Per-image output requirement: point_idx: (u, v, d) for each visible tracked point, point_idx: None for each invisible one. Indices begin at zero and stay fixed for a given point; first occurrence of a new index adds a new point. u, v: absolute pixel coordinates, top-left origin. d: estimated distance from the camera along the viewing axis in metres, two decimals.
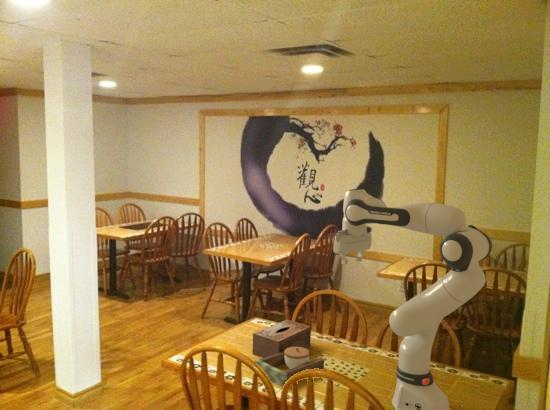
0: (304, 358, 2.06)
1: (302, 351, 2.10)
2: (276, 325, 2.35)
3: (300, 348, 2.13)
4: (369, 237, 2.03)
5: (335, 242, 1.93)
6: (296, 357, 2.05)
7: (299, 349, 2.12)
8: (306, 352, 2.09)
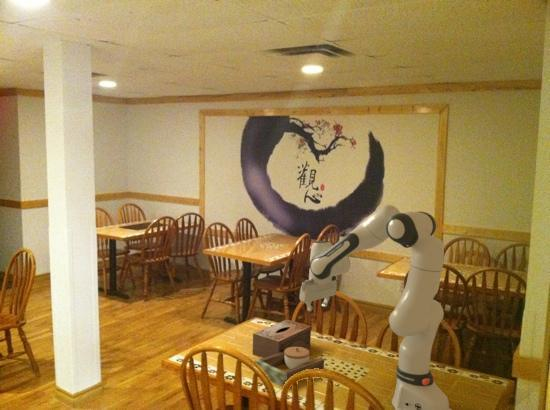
0: (304, 358, 2.06)
1: (302, 351, 2.10)
2: (276, 325, 2.35)
3: (300, 348, 2.13)
4: (334, 284, 2.17)
5: (301, 291, 2.07)
6: (296, 357, 2.05)
7: (299, 349, 2.12)
8: (306, 352, 2.09)
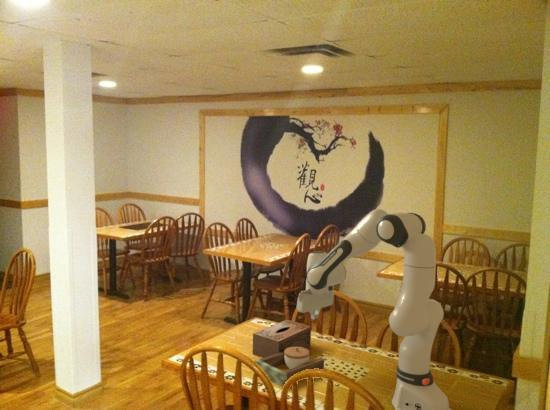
0: (304, 358, 2.06)
1: (302, 351, 2.10)
2: (276, 325, 2.35)
3: (300, 348, 2.13)
4: (331, 294, 2.19)
5: (298, 301, 2.09)
6: (296, 357, 2.05)
7: (299, 349, 2.12)
8: (306, 352, 2.09)
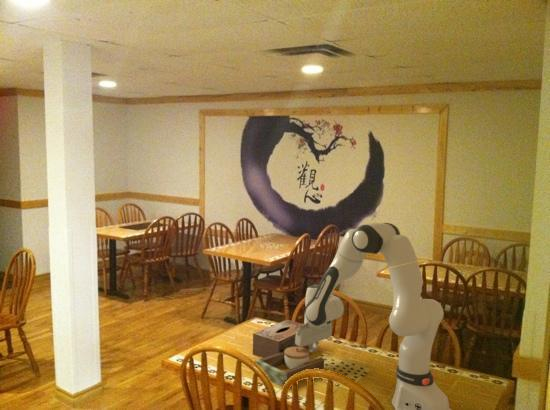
0: (304, 358, 2.06)
1: (302, 351, 2.10)
2: (276, 325, 2.35)
3: (300, 348, 2.13)
4: (329, 327, 2.20)
5: (296, 335, 2.10)
6: (296, 357, 2.05)
7: (299, 349, 2.12)
8: (306, 352, 2.09)
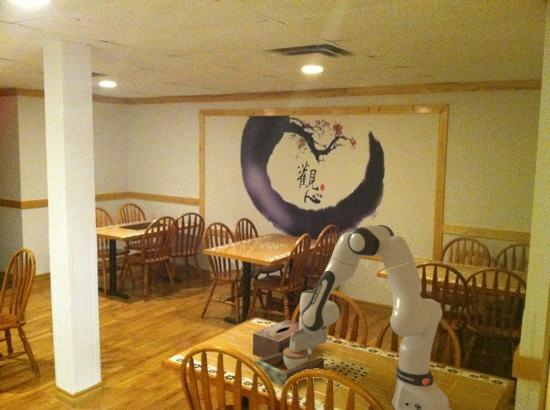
0: (303, 358, 2.05)
1: (301, 351, 2.09)
2: (276, 325, 2.35)
3: None
4: (325, 332, 2.18)
5: (291, 341, 2.08)
6: (295, 357, 2.04)
7: None
8: (305, 352, 2.08)
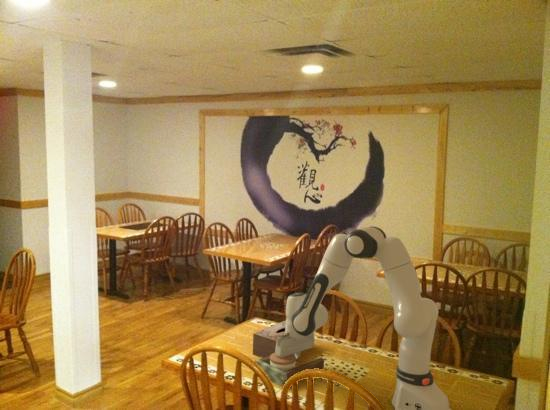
0: (291, 364, 2.00)
1: (288, 356, 2.03)
2: (276, 325, 2.35)
3: None
4: (312, 336, 2.12)
5: (276, 346, 2.03)
6: (283, 363, 1.98)
7: None
8: (292, 357, 2.03)
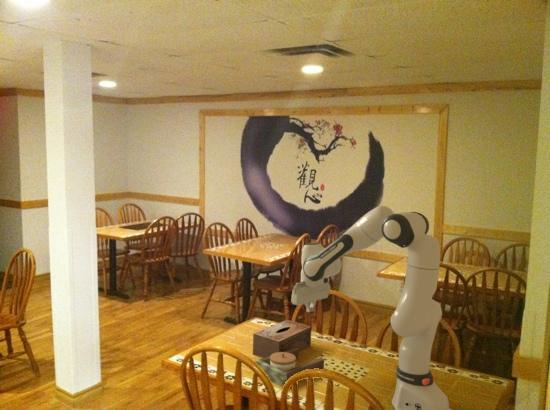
0: (291, 364, 2.00)
1: (288, 356, 2.03)
2: (276, 325, 2.35)
3: (285, 353, 2.07)
4: (327, 287, 2.16)
5: (293, 294, 2.06)
6: (283, 363, 1.98)
7: (285, 354, 2.05)
8: (292, 357, 2.03)
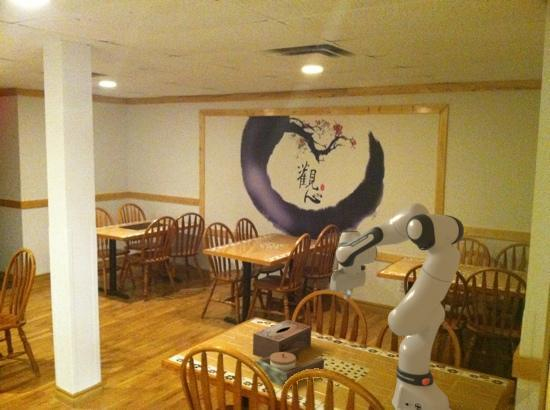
0: (291, 364, 2.00)
1: (288, 356, 2.03)
2: (276, 325, 2.35)
3: (285, 353, 2.07)
4: (363, 274, 2.18)
5: (331, 280, 2.08)
6: (283, 363, 1.98)
7: (285, 354, 2.05)
8: (292, 357, 2.03)
